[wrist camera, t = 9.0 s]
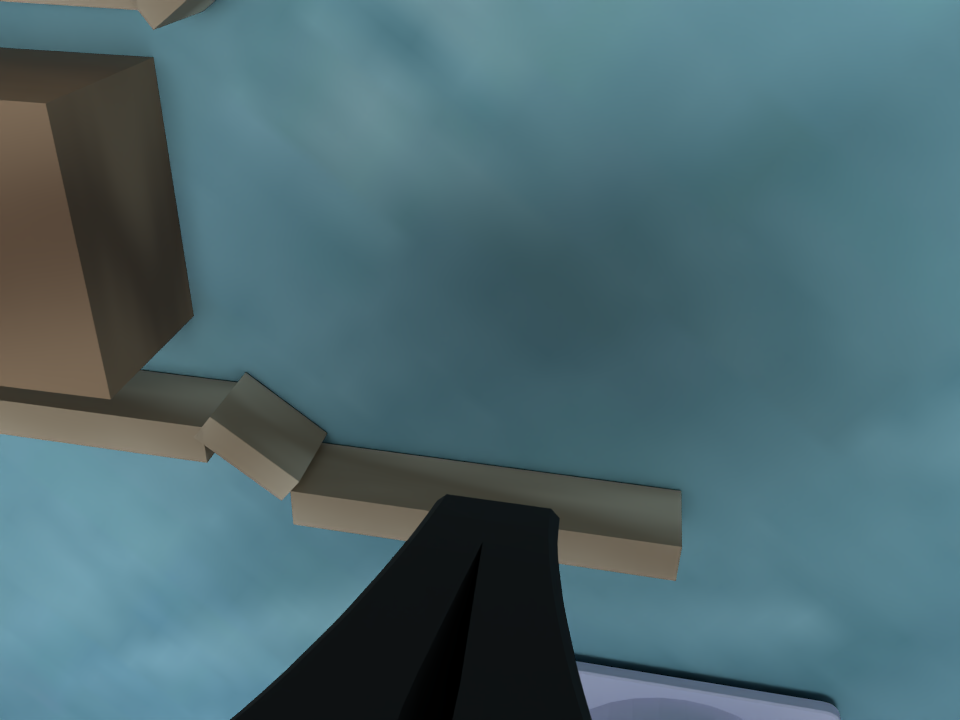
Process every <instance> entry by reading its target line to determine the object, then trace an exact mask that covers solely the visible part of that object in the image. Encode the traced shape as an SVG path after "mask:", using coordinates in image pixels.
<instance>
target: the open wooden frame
mask: <svg viewBox="0 0 960 720" xmlns="http://www.w3.org/2000/svg"><path fill="white" fill-rule="evenodd" d="M0 1H6V2H22V3H37V4H53V5H68V6H84V7H99V8H115V9H130V10H138V11H139V12H140V13H141V15H142V16H143V17H144V18H145V20H146V21H147V22H148V23H149V25H150V26H151V27H152V29H153V30H154V29H157V28H160V27H162V26H165V25H168V24H170V23H173V22H176V21H178V20H181V19H184V18H187V17H189V16H192V15H195V14H197V13H200V12H203V11H204V10H205V9H206V8H207V7H208V6H210V5H211V4H212V3H213V2H214V1H215V0H0ZM0 434H6V435H13V436H20V437H27V438H34V439H41V440H49V441H56V442H63V443H70V444H77V445H84V446H92V447H99V448H106V449H113V450H120V451H127V452H134V453H142V454H149V455H156V456H163V457H170V458H177V459H185V460H192V461H199V462H206V463H207V462H208V461H209V459H210V458H211V457H212V455H213V454H214V453H216V454H218V455H219V456H220V457H222V458H223V459H224V460H226V461H227V462H229V463H230V464H231V465H233V466H234V467H236V468H237V469H238V470H240V471H241V472H243V473H244V474H245V475H247V476H248V477H249V478H251V479H252V480H254V481H255V482H256V483H258V484H259V485H261V486H262V487H263V488H265V489H266V490H268V491H269V492H270V493H272V494H273V495H274V496H276V497H277V498H279V499H280V500H281V501H282V500H283V499H284V498H285V496H286V495H287V494H288V493H289V492H290V493H291V503H292V513H293V524H295V525H301V526H308V527H315V528H322V529H328V530H335V531H342V532H349V533H355V534H362V535H369V536H376V537H382V538H389V539H396V540H403V541H407V540H408V539H409V537H410V536H411V535H412V533H413V532H414V531H415V530H416V528H417V527H418V526H419V524H420V523H421V522H422V520H423V519H424V518H425V517H426V515H427V514H428V512H429V511H430V510H431V508H432V507H433V505H434V504H435V503H436V501H437V500H439V499H440V498H442V497H443V496H445V495H446V494H450V495H457V496H464V497H471V498H479V499H486V500H493V501H500V502H508V503H515V504H522V505H529V506H536V507H544V508H551V509H552V510H553V511H554V512H555V513H556V515H557V516H558V517H559V518H560V522H559V533H558V562H559V564H565V565H572V566H578V567H585V568H592V569H599V570H605V571H612V572H619V573H626V574H632V575H639V576H646V577H653V578H659V579H666V580H673V581H676V576H677V571H678V565H679V560H680V555H681V549H682V514H681V491H677V490H670V489H662V488H655V487H647V486H640V485H632V484H625V483H617V482H610V481H602V480H595V479H588V478H580V477H573V476H565V475H558V474H550V473H543V472H535V471H528V470H520V469H513V468H505V467H498V466H490V465H483V464H476V463H468V462H461V461H453V460H446V459H438V458H431V457H423V456H416V455H408V454H401V453H393V452H386V451H378V450H371V449H364V448H356V447H349V446H341V445H334V444H326V443H322V442H323V440H324V438H325V436H326V435H327V433H326V432H325V431H323V430H322V429H321V428H319V427H318V426H317V425H315V424H314V423H313V422H311V421H310V420H309V419H307V418H306V417H305V416H303V415H302V414H301V413H299V412H298V411H297V410H295V409H294V408H293V407H291V406H290V405H289V404H287V403H286V402H285V401H283V400H282V399H281V398H279V397H278V396H277V395H275V394H274V393H272V392H271V391H270V390H268V389H267V388H266V387H264V386H263V385H262V384H260V383H259V382H258V381H256V380H255V379H254V378H252V377H251V376H250V375H248V374H247V373H246V372H245V374H244V375H243V376H242V377H241V379H240V380H239V381H238V382H230V381H222V380H214V379H206V378H198V377H190V376H183V375H175V374H167V373H159V372H151V371H143V370H140V371H139V372H138V373H137V374H136V375H135V376H134V377H133V378H132V379H131V380H130V381H129V382H128V383H127V384H126V385H125V386H124V387H123V388H122V389H121V390H120V391H119V392H118V393H117V394H116V395H115V396H114V397H113V398H112V399H103V398H95V397H87V396H79V395H70V394H62V393H54V392H46V391H38V390H30V389H21V388H13V387H5V386H0Z"/></svg>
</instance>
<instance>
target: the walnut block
mask: <svg viewBox="0 0 960 720" xmlns="http://www.w3.org/2000/svg"><path fill="white" fill-rule="evenodd" d="M193 316H194V314H193V308H192V302H191V295H190V289H189V282H188V276H187V269H186V263H185V257H184V250H183V244H182V237H181V231H180V225H179V218H178V212H177V205H176V199H175V193H174V186H173V180H172V173H171V167H170V161H169V154H168V148H167V141H166V135H165V129H164V122H163V116H162V109H161V103H160V97H159V90H158V84H157V77H156V71H155V65H154V58H153V57H141V56H125V55H109V54H93V53H77V52H61V51H45V50H29V49H13V48H0V386H5V387H13V388H21V389H30V390H38V391H46V392H54V393H62V394H70V395H79V396H87V397H95V398H103V399H112V398H113V397H114V396H115V395H116V394H117V393H118V392H119V391H120V390H121V389H122V388H123V387H124V386H125V385H126V384H127V383H128V382H129V381H130V380H131V379H132V378H133V377H134V376H135V375H136V374H137V373H138V372H139V371H140V370H141V368H142V367H143V366H144V365H145V364H146V363H147V362H148V361H149V360H150V359H151V358H152V357H153V356H154V355H155V354H156V353H157V352H158V351H159V350H160V349H161V348H162V347H163V346H164V345H165V344H166V343H167V342H168V341H169V340H170V339H171V338H172V337H173V336H174V335H175V334H176V333H177V332H178V331H179V330H180V329H181V328H182V327H183V326H184V325H185V324H186V323H187V322H188V321H189V320H190V319H191V318H192V317H193Z"/></svg>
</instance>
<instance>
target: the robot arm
mask: <svg viewBox="0 0 960 720" xmlns="http://www.w3.org/2000/svg"><path fill="white" fill-rule="evenodd" d="M559 522H560V518H559V517H558V516H557V515H556V513H555V512H554V511H553V510H552V509H551V508H544V507H536V506H529V505H522V504H515V503H508V502H500V501H493V500H486V499H479V498H471V497H464V496H457V495H450V494H446V495H445V496H443V497H442V498H440V499H439V500H437V501H436V503H435V504H434V505H433V507H432V508H431V510H430V511H429V512H428V514H427V515H426V517H425V518H424V519H423V520H422V522H421V523H420V524H419V526H418V527H417V528H416V530H415V531H414V532H413V533H412V535H411V536H410V537H409V539H408V540H407V541H406V542H405V543H404V545H403V546H402V547H401V548H400V550H399V551H398V552H397V553H396V554H395V556H394V557H393V558H392V559H391V560H390V561H389V563H388V564H387V565H386V566H385V567H384V569H383V570H382V571H381V572H380V573H379V574H378V575H377V577H376V578H375V579H374V580H373V581H372V582H371V583H370V584H369V585H368V587H367V588H366V589H365V590H364V591H363V592H362V593H361V594H360V595H359V596H358V598H357V599H356V600H355V601H354V602H353V603H352V604H351V605H350V606H349V608H348V609H347V610H346V611H345V612H344V613H343V614H342V615H341V616H340V617H339V618H338V619H337V620H336V621H335V622H334V623H333V624H332V625H331V626H330V627H329V628H328V629H327V630H326V631H325V632H324V633H323V634H322V635H321V636H320V637H319V638H318V639H317V640H316V641H315V642H314V643H313V644H312V645H311V646H310V647H309V648H308V649H307V650H306V651H305V652H304V653H303V654H302V655H301V656H300V657H299V658H298V659H297V660H296V661H295V662H294V663H293V664H292V665H291V666H290V667H289V668H288V669H287V670H286V671H285V672H284V673H283V674H281V675H280V676H279V677H278V678H277V679H276V680H275V681H274V682H273V683H272V684H271V685H269V686H268V687H267V688H266V689H265V690H264V691H263V692H262V693H261V694H259V695H258V696H257V697H256V698H255V699H254V700H253V701H251V702H250V703H249V704H248V705H247V706H246V707H245V708H243V709H242V710H241V711H240V712H239V713H238V714H236V715H235V716H234V717H233V718H232V719H230V720H841V718H840V713H839V711H838V709H837V708H836V707H835V706H833V705H832V704H830V703H827V702H823V701H817V700H811V699H805V698H799V697H793V696H787V695H781V694H774V693H768V692H762V691H756V690H750V689H744V688H738V687H732V686H725V685H719V684H713V683H707V682H701V681H695V680H689V679H682V678H676V677H670V676H664V675H658V674H652V673H646V672H640V671H633V670H627V669H621V668H615V667H609V666H603V665H597V664H590V663H584V662H578V661H576V660H575V655H574V650H573V646H572V641H571V637H570V632H569V628H568V623H567V619H566V613H565V608H564V602H563V596H562V588H561V581H560V573H559V562H558V533H559Z"/></svg>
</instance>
